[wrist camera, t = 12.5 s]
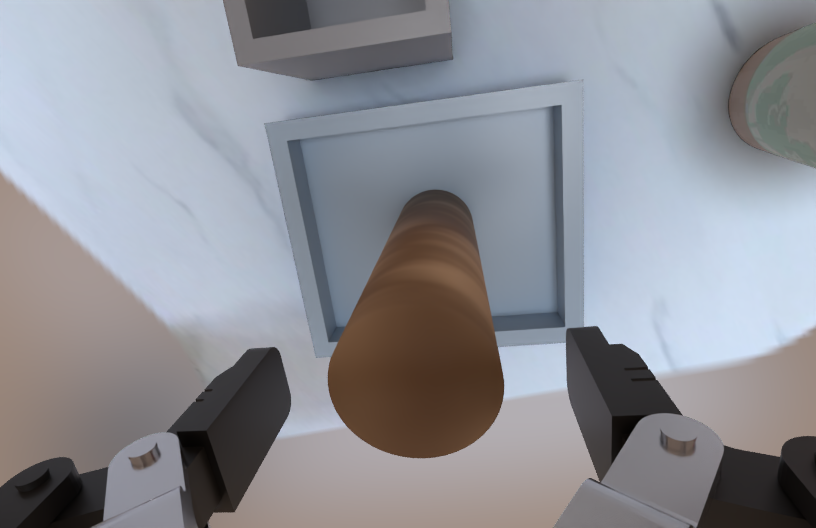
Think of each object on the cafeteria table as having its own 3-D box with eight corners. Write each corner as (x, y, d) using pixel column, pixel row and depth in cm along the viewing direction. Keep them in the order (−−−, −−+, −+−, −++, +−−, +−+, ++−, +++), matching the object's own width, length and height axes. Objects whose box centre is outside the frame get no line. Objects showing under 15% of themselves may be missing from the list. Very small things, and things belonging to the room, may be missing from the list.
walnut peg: (470, 185, 25) (498, 300, 10) (475, 258, 27) (508, 455, 11) (393, 193, 26) (312, 313, 11) (403, 265, 27) (343, 461, 12)
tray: (568, 83, 24) (583, 79, 21) (570, 318, 28) (583, 341, 25) (285, 122, 26) (264, 123, 23) (328, 334, 30) (315, 357, 28)
